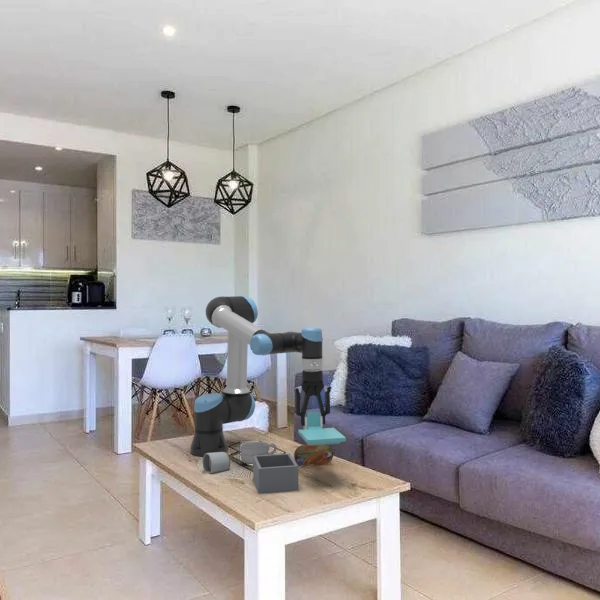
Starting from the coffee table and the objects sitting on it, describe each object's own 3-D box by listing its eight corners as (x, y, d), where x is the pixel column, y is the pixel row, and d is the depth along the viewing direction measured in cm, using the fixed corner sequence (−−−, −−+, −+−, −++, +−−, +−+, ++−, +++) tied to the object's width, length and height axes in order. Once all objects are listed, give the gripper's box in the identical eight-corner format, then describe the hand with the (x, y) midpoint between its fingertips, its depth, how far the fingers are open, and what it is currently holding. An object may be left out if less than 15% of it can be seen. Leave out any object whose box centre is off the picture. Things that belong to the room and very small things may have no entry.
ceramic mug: (231, 473, 200) (231, 451, 201) (211, 477, 196) (211, 455, 196) (217, 466, 209) (217, 446, 209) (198, 470, 204) (197, 450, 204)
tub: (253, 481, 190) (253, 455, 190) (290, 478, 193) (289, 453, 193) (258, 496, 176) (258, 468, 176) (298, 493, 178) (298, 466, 178)
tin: (295, 469, 205) (295, 446, 205) (293, 466, 208) (293, 444, 208) (333, 465, 209) (333, 443, 209) (330, 463, 212) (330, 441, 212)
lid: (295, 432, 199) (294, 412, 199) (329, 430, 202) (329, 411, 202) (307, 446, 179) (307, 425, 179) (345, 444, 182) (345, 423, 182)
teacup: (239, 468, 205) (239, 447, 205) (241, 460, 216) (241, 440, 216) (276, 468, 206) (276, 446, 206) (276, 459, 217) (276, 439, 217)
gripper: (289, 372, 194) (290, 438, 194) (339, 370, 198) (339, 434, 198) (286, 369, 202) (286, 433, 201) (333, 367, 205) (334, 430, 205)
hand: (313, 433), depth 200 cm, fingers closed on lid, 5 cm apart
